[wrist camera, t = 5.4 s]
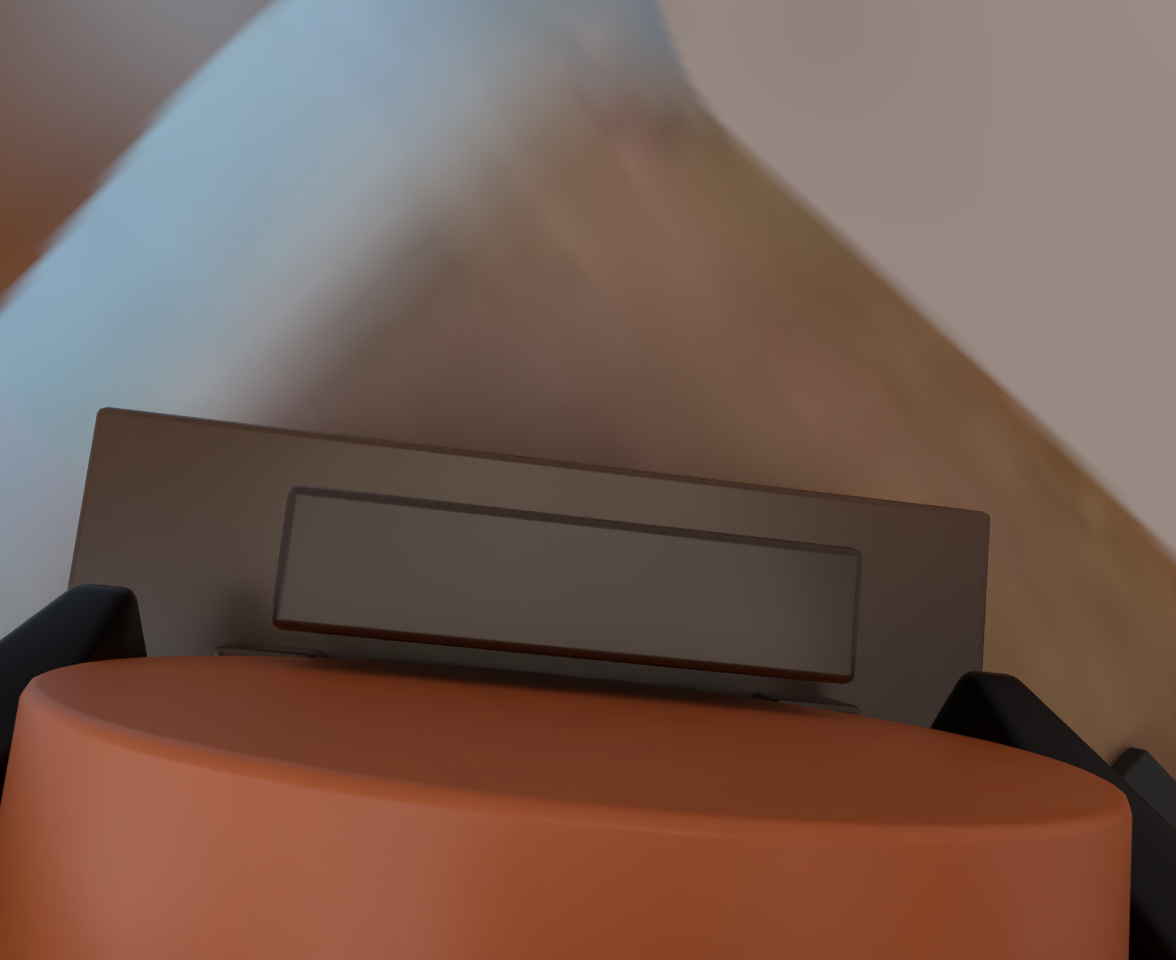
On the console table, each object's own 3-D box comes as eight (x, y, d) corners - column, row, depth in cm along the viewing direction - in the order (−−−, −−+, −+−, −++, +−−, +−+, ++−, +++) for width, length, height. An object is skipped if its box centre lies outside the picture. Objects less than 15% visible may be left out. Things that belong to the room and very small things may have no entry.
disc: (841, 929, 11) (1541, 1556, 4) (170, 882, 10) (-544, 1547, 3) (855, 702, 11) (1528, 884, 4) (207, 641, 10) (-363, 728, 3)
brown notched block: (813, 989, 15) (1106, 1324, 8) (132, 948, 14) (-193, 1297, 7) (845, 533, 16) (1133, 490, 9) (206, 460, 15) (-17, 348, 8)
